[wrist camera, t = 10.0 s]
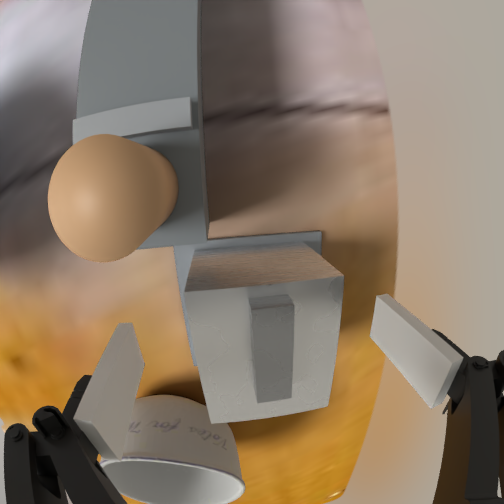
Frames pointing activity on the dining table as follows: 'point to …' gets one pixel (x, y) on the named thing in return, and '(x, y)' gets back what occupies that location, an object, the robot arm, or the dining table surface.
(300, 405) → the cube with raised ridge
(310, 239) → the mat
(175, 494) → the teacup
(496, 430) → the robot arm
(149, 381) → the dining table surface
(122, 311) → the dining table surface
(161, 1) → the plane
